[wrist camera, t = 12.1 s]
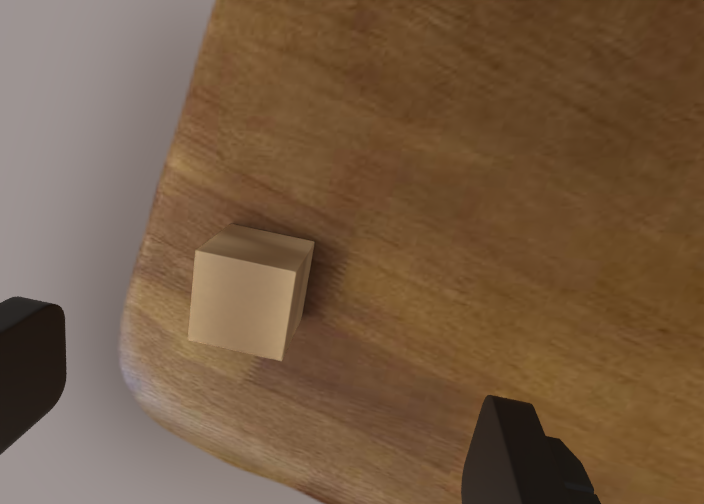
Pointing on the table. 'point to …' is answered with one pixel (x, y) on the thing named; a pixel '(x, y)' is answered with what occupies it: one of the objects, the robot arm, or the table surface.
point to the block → (249, 290)
